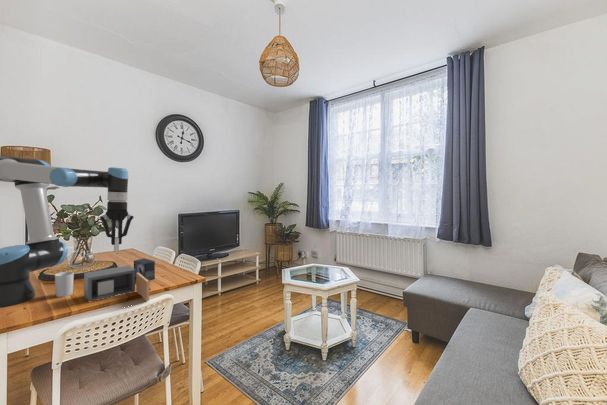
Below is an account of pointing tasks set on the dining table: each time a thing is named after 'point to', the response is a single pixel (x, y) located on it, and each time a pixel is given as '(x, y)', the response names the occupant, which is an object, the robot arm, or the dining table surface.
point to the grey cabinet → (109, 282)
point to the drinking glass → (64, 283)
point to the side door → (142, 286)
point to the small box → (145, 268)
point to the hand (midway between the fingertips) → (116, 251)
